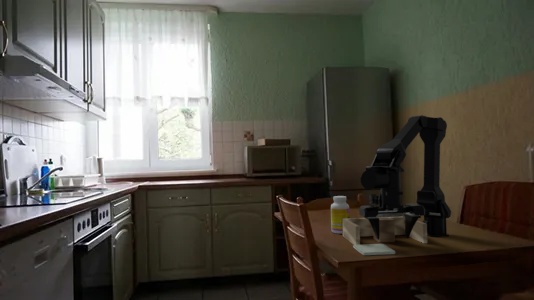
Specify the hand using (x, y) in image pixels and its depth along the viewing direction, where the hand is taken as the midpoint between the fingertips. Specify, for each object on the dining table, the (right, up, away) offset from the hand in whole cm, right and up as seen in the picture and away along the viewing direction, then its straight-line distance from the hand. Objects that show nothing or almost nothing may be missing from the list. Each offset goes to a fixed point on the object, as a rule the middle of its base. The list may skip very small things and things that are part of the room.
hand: (392, 238), depth 113 cm
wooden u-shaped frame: (-1, -2, +6) cm, 7 cm away
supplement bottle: (-12, -3, +20) cm, 24 cm away
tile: (-8, -2, -6) cm, 10 cm away
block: (-1, -2, +6) cm, 7 cm away
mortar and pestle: (+9, -3, +29) cm, 30 cm away
